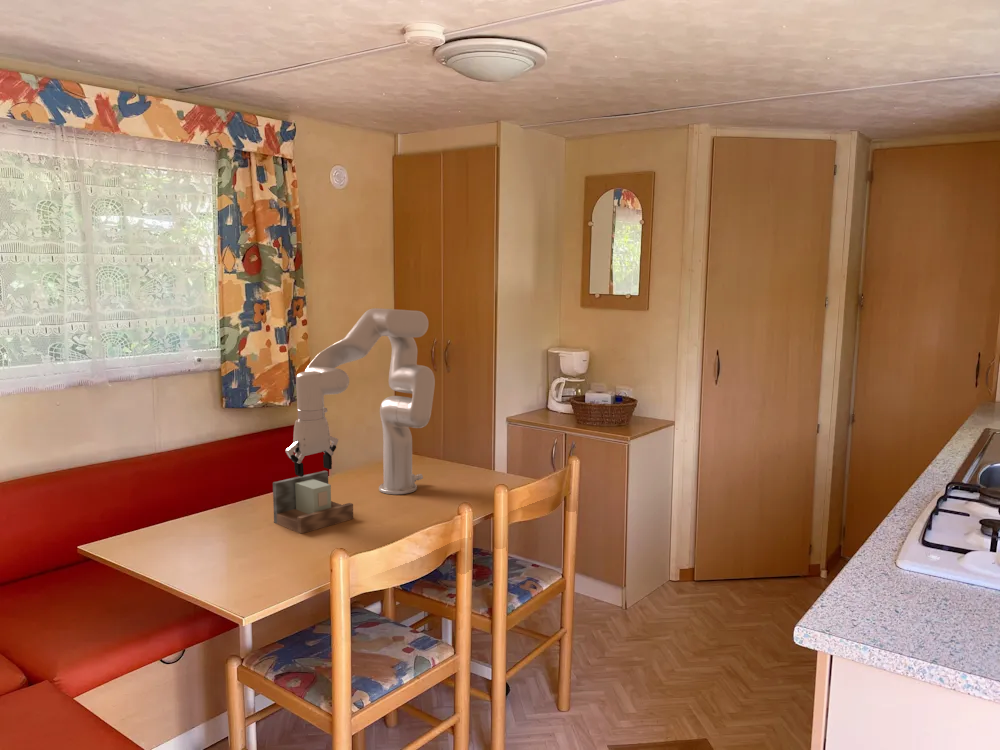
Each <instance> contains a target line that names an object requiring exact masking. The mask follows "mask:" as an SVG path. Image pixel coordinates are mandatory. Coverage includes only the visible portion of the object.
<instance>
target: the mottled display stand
mask: <svg viewBox="0 0 1000 750" xmlns="http://www.w3.org/2000/svg"><path fill="white" fill-rule="evenodd" d="M310 479H314V480H318V481H321V482H324V483H327V484H329V471H327V470H322V471H316V472H313V473H308V474H304V476H302V477H300V476H294V477H291V478H286V479H283V480H278V481H273V482H272V496H273V501H272V502H273V503H272V504H273V524H274V523H275V524H276V525H279V526H281V527H284V528H286V529H289V530H291V531H293V532H296V533H298V534H300V535H303V534H305V533H309V532H311V531H316V530H320V529H323V528H326V527H329V526H333V525H336V524H339V523H340V524H341V523H343V522H346V521H350V520H353V519H354V504H353V503H351V502H348V503H344V504H341V503H338V502H335V501H332V500H331V508H329V509H325V510H321V511H318V512H314V513H310V514H307V513H304V512H302V511H299V510H296V496H295V483H297V482H301V481H305V480H310Z"/></svg>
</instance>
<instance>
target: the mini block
mask: <svg viewBox="0 0 1000 750" xmlns="http://www.w3.org/2000/svg"><path fill="white" fill-rule="evenodd" d="M295 496H296V510H299V511H302V512H304V513H307V514H310V513H314V512H318V511H321V510H325V509H329V508H331V501H332V487H331V484H329V483H328V484H327V483H324V482H321V481H318V480H314V479H310V480H305V481H301V482H297V483H295Z"/></svg>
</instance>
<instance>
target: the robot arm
mask: <svg viewBox="0 0 1000 750" xmlns="http://www.w3.org/2000/svg"><path fill="white" fill-rule="evenodd" d="M429 324H430V323H429V319H428V317H427V315H426V313H424V312H423V311H420V310H409V309H408V310H407V309H393V308H377V307H376V308H374V307H373V308H370V309H367V310H366V311H365V312H364V313H363V314H362V315H361V316H360V318H358V320H357V322H356V323H355V324H354V325H353V327H352V328H350V330H349V332H348V333H347V334H346V335H345V336H344V338H342V339H341V340H338V341H336V342H335V343H333V344H331V345H329V346H328V347H326V348H325V349H323V350H322V351H320V352H319V353H317V355H316V356H314V358H313V359H312V360H311V362H310V363H309V364H308V365H307V367H305V370H304V371H301V372H299V373H297V375H296V376H295V382H296V383H295V385H296V406H297V407H296V408H297V410H296V411H297V419H296V420H295V422H294V426H293V435H292V437H293V439H292V441H293V442H292V444H291V445H290V446H289V447H287V448H286V449H285V453H286V455H287V457H288V459H290V460H291V461H292V462H293V464H294V466H293V467H294V473H295V476H296V477H299V476H300V477H302V476H304V475H305V474H304V463H303V459H304V458H305V456H310V455H315V454H318V453H322V452H323V453H324V454H323V455H322V459H323V461H322V463H323V468H325V469H328V470H332V469H333V466H332V465H333V460H332V459H333V458H332V457H333V455H334V452H335V450H336V449H337V446H338V442H339V438H338V437H337V438H336V437H335V436H331V435H330V434H331V433H330V427H329V423H328V419H327V417H326V415H325V413H327V412H328V407H325V396H326V395H339V394H342V393H344V392H345V391H346V390H347V389H348V387H349V385H350V378H349V377H350V376H349V375H348V373H347V372H346V371H345V370H343V369H340V368H337V367H339V366H341V365H344V364H347V363H352V362H355V361H358V360H360V359H363V358H365V357H366V356H367V355H368V354H369V353H370V351H371V350H372V349H373V347H374V346H375V345H376V343H377V342H378V341H379V340H380V338H381V337H387V338H388V340H389V343H390V345H391V357H390V364H389V373H388V387H389V388H390V389H391V390H393V391H395V392H398V393H405V394H410V395H412V397H408V396H400V395H390V396H387V397H386V398H384V399H383V400H382V401H381V403H380V407H379V416H380V420H381V421H380V422H381V426H382V442H383V445H382V448H383V449H382V451H383V453H382V454H383V455H382V459H383V460H382V461H383V462H382V465H383V467H382V468H383V469H382V470H383V483H381V484H380V485H379V486H378V490H379V492H380V493H382V494H387V495H405V494H406V495H407V494H411V493H414V492H415V491H417V489H418V485H417V484H416V482H417V481H420V480H422V479H424V475H423V474H422V473H417V474H415V473H413V436H412V432H411V429H410V428H412V429H422V428H424V427H426V426H427V425H428V423H429V422H430V419H431V417H432V416H431V415H432V409H433V404H434V395H435V394H434V393H435V387H436V386H435V385H436V379H435V374H434V371H433V370H432V369H431V368H430V367H428V366H427V365H426V366H425V365H421V364H418V363H417V362H418V346H417V343H416V340H415V338H421V337H423V336H424V335H425V334H426V333H427V331H428V329H429Z"/></svg>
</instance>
